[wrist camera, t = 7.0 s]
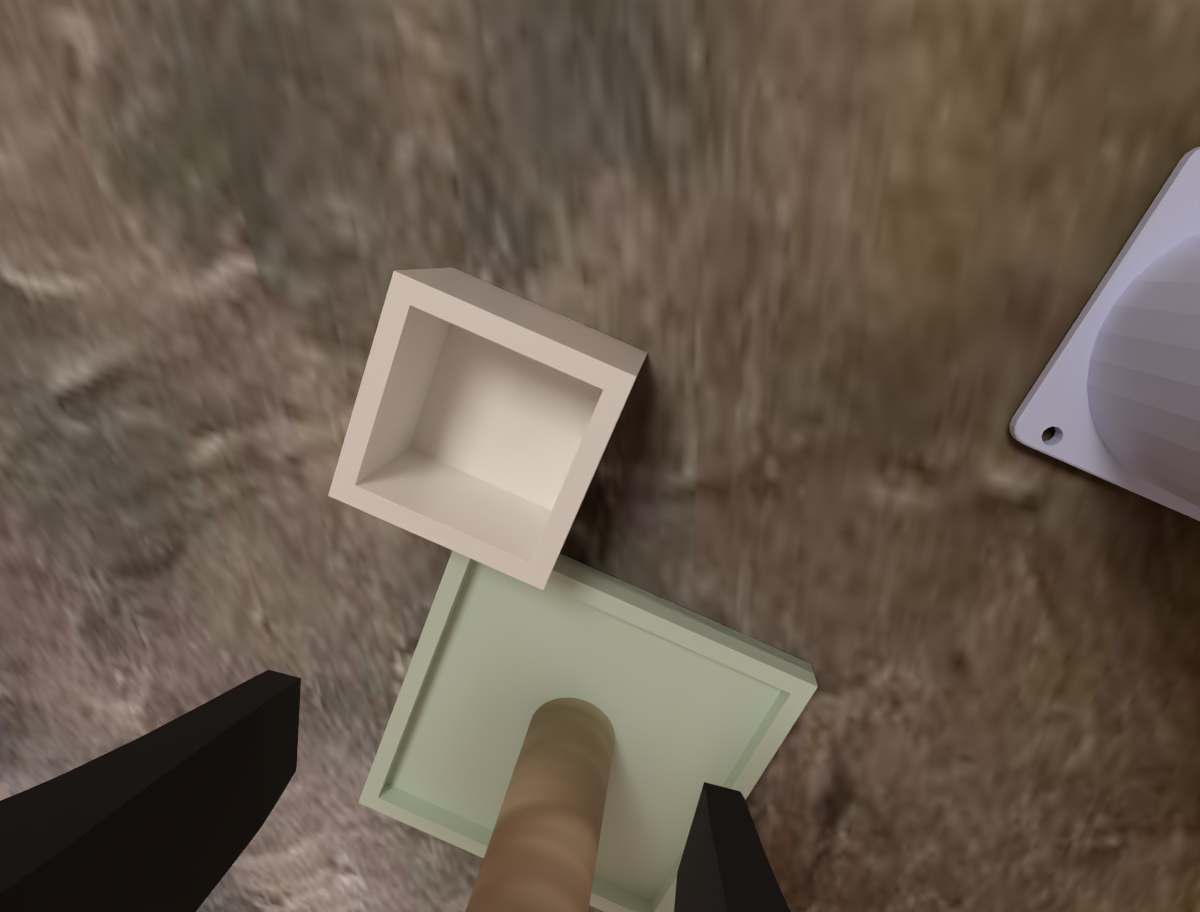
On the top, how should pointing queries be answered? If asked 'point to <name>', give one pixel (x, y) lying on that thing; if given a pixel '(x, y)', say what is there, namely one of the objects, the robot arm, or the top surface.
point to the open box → (482, 420)
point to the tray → (599, 676)
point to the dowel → (550, 815)
